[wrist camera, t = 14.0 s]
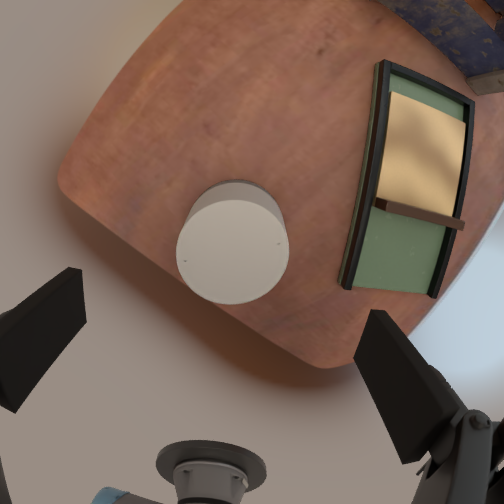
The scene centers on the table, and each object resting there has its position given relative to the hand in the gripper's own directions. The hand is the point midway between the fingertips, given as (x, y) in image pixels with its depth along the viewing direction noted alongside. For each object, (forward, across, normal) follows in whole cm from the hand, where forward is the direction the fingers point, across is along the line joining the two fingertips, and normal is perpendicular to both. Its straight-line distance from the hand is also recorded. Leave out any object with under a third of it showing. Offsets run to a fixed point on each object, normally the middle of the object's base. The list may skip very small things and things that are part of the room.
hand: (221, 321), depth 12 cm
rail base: (+23, +21, +8) cm, 32 cm away
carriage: (+22, +21, +11) cm, 32 cm away
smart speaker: (+23, 0, 0) cm, 23 cm away
